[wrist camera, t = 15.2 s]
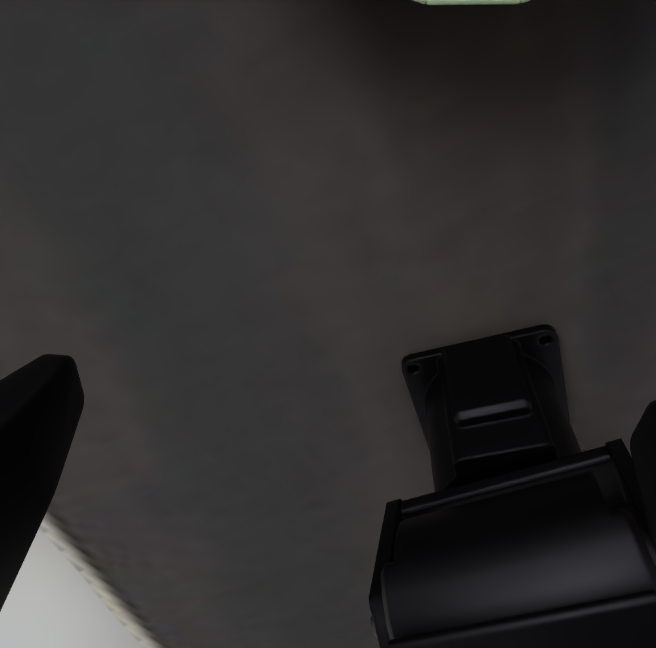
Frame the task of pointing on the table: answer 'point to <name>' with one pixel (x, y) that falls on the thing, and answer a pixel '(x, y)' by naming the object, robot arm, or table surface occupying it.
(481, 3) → the bowl
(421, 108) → the table surface
